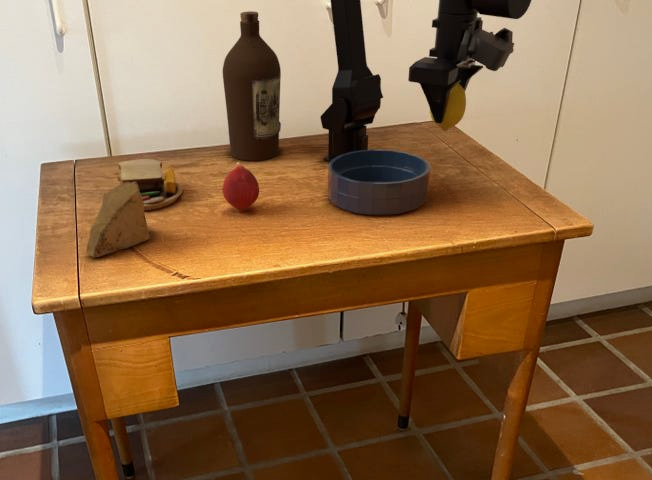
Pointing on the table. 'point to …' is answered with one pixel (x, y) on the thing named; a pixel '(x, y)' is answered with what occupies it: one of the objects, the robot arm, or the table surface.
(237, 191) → the onion
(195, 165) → the table surface
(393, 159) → the bowl
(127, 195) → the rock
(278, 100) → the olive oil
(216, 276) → the table surface
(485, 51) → the robot arm
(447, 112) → the lemon
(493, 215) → the table surface
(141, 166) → the toy sandwich meal
